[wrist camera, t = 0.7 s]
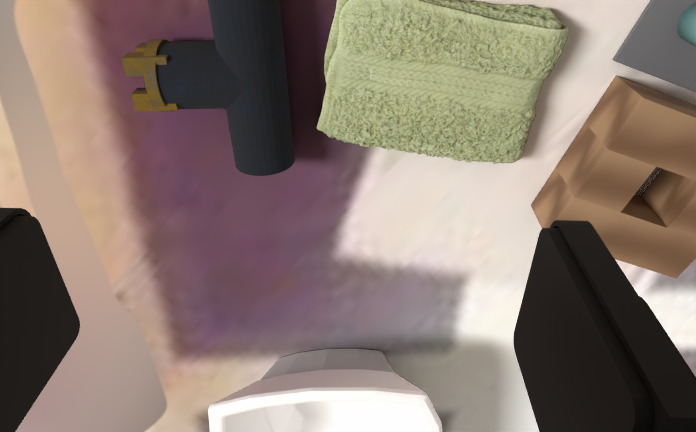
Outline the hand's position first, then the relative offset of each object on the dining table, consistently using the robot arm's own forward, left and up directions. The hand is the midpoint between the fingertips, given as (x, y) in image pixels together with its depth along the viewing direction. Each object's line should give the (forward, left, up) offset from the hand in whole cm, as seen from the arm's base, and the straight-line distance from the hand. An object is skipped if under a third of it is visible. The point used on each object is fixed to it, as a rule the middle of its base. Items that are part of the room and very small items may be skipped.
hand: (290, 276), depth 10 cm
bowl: (+44, +13, -33) cm, 57 cm away
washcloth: (+4, +9, -33) cm, 35 cm away
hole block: (+6, +28, -33) cm, 44 cm away
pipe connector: (+9, -8, -33) cm, 35 cm away
